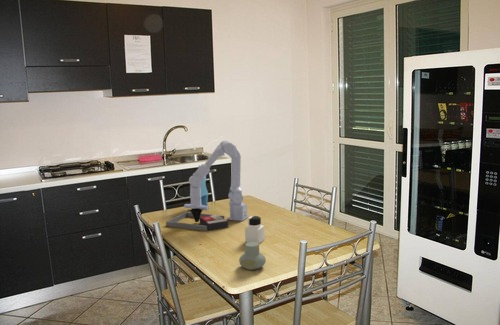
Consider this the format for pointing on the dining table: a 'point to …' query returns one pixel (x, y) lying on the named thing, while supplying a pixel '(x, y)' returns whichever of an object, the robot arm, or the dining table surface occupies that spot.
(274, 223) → the dining table surface
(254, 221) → the medicine bottle
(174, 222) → the grey piece
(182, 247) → the dining table surface
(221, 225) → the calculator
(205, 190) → the light blue tall block
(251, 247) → the air freshener
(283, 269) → the dining table surface
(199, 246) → the dining table surface
